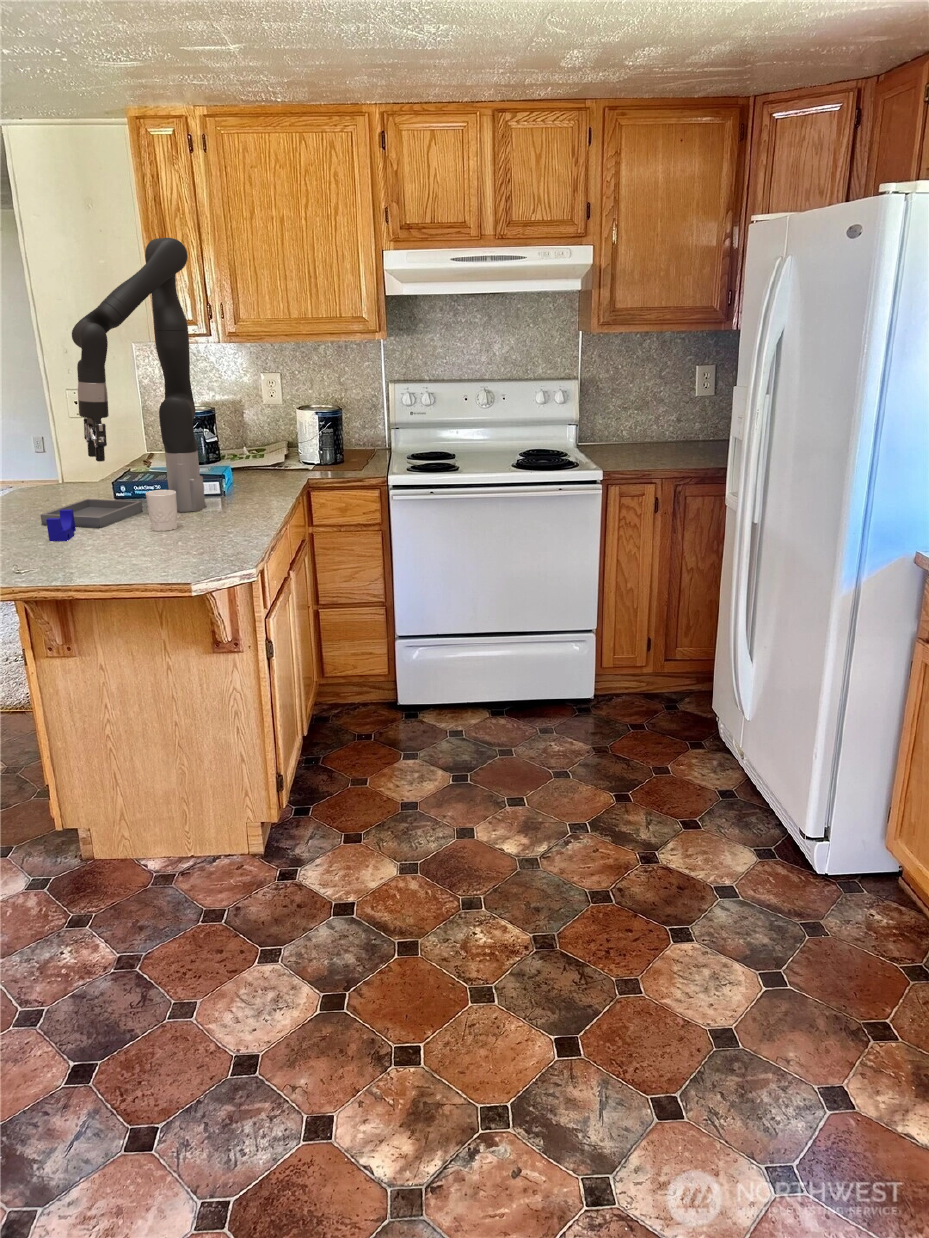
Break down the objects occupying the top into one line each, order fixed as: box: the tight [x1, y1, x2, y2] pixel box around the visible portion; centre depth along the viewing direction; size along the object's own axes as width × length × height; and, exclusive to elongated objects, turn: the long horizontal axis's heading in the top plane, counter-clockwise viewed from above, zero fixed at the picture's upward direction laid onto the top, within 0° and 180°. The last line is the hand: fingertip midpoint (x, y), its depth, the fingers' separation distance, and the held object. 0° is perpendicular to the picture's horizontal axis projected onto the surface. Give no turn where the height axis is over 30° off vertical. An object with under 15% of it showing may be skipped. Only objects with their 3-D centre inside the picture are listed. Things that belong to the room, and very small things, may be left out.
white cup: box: [145, 489, 178, 532], centre depth 251 cm, size 8×8×10 cm
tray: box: [40, 498, 144, 529], centre depth 264 cm, size 18×22×3 cm
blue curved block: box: [46, 509, 77, 542], centre depth 244 cm, size 12×4×6 cm, turn 5°
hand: (96, 458), depth 256 cm, fingers open, 8 cm apart
